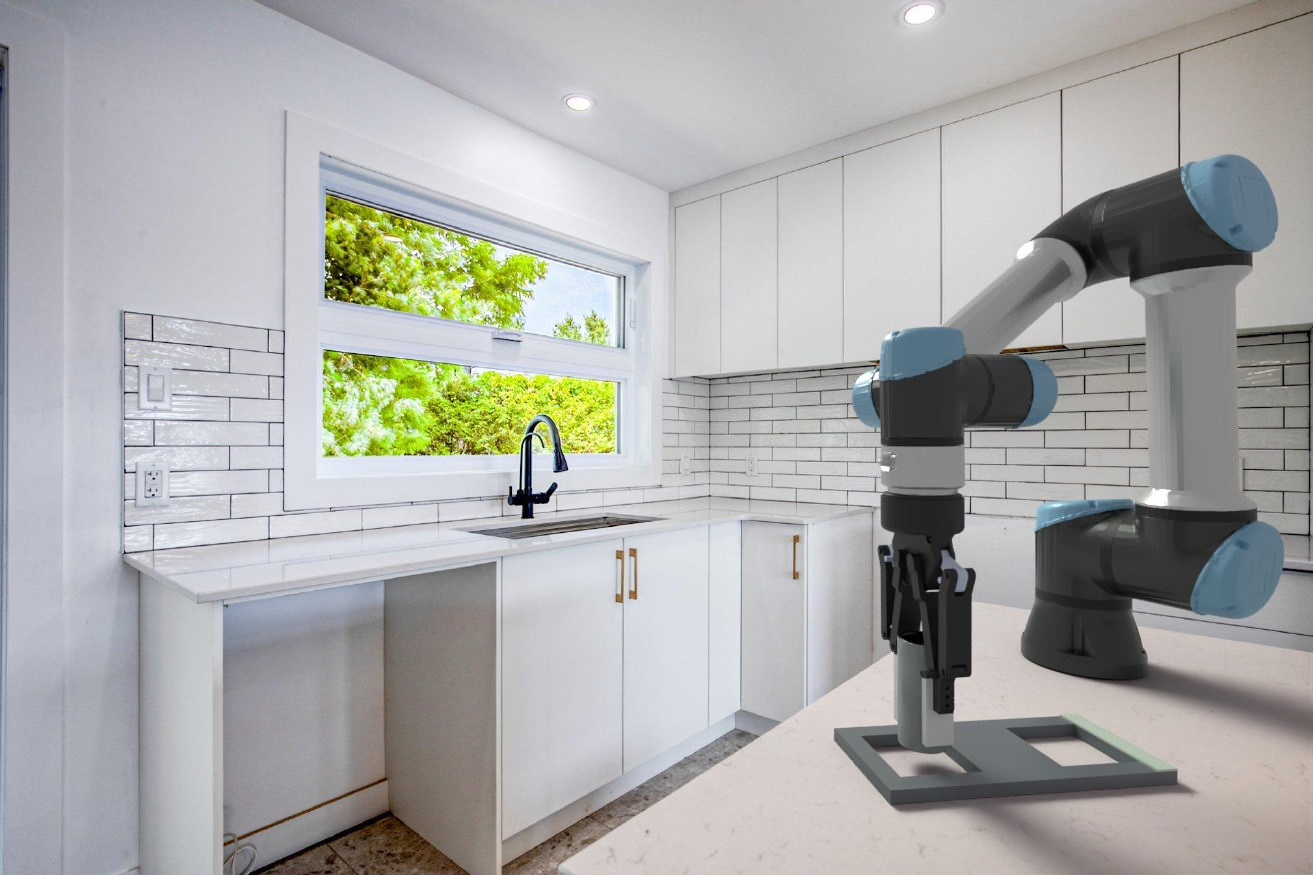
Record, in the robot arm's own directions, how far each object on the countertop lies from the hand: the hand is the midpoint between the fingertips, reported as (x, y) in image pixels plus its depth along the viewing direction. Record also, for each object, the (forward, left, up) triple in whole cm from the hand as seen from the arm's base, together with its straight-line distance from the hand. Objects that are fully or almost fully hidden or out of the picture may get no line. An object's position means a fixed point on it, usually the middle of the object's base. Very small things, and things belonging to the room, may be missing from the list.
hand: (922, 730), depth 63 cm
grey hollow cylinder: (0, 0, -1) cm, 1 cm away
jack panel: (-8, 0, -3) cm, 8 cm away
